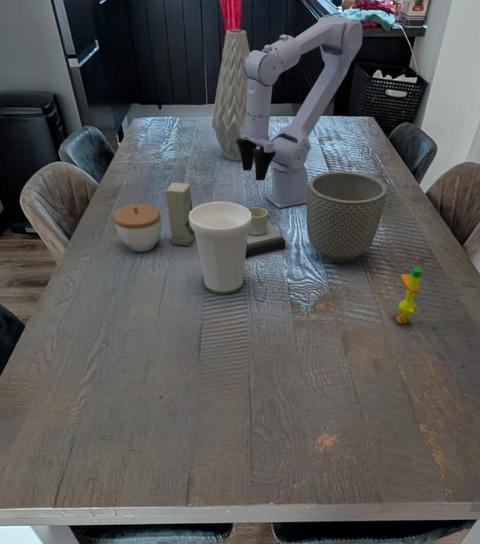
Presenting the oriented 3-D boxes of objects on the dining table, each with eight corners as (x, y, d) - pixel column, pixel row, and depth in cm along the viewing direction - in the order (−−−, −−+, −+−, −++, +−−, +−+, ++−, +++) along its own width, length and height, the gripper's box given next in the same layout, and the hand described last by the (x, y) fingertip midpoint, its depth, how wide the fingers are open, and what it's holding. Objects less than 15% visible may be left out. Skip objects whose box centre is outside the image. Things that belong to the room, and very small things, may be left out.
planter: (290, 244, 117) (294, 176, 105) (350, 232, 122) (361, 166, 110) (322, 279, 106) (331, 208, 95) (387, 265, 111) (403, 195, 100)
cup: (230, 305, 98) (227, 235, 87) (183, 287, 103) (175, 218, 92) (262, 279, 106) (263, 211, 95) (217, 262, 110) (213, 196, 99)
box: (189, 246, 115) (183, 192, 106) (171, 244, 116) (164, 190, 106) (195, 236, 119) (190, 183, 109) (178, 234, 119) (172, 181, 110)
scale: (263, 227, 123) (263, 216, 121) (285, 248, 116) (286, 237, 114) (220, 236, 119) (219, 225, 117) (240, 258, 112) (240, 247, 110)
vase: (273, 154, 159) (277, 30, 136) (245, 169, 150) (244, 38, 126) (232, 144, 165) (229, 23, 141) (203, 158, 156) (194, 31, 132)
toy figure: (386, 311, 98) (399, 258, 90) (402, 309, 99) (416, 256, 90) (399, 331, 94) (415, 277, 85) (416, 328, 95) (433, 275, 86)
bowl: (260, 223, 118) (260, 205, 115) (271, 233, 115) (271, 214, 111) (240, 228, 116) (240, 209, 113) (250, 238, 113) (250, 219, 110)
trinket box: (172, 239, 117) (167, 201, 111) (151, 259, 110) (144, 220, 104) (133, 231, 120) (126, 193, 113) (110, 251, 113) (101, 212, 106)
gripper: (229, 106, 116) (227, 166, 125) (256, 122, 107) (252, 185, 116) (255, 106, 119) (251, 165, 128) (283, 122, 110) (277, 183, 119)
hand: (253, 174), depth 122 cm, fingers open, 7 cm apart
